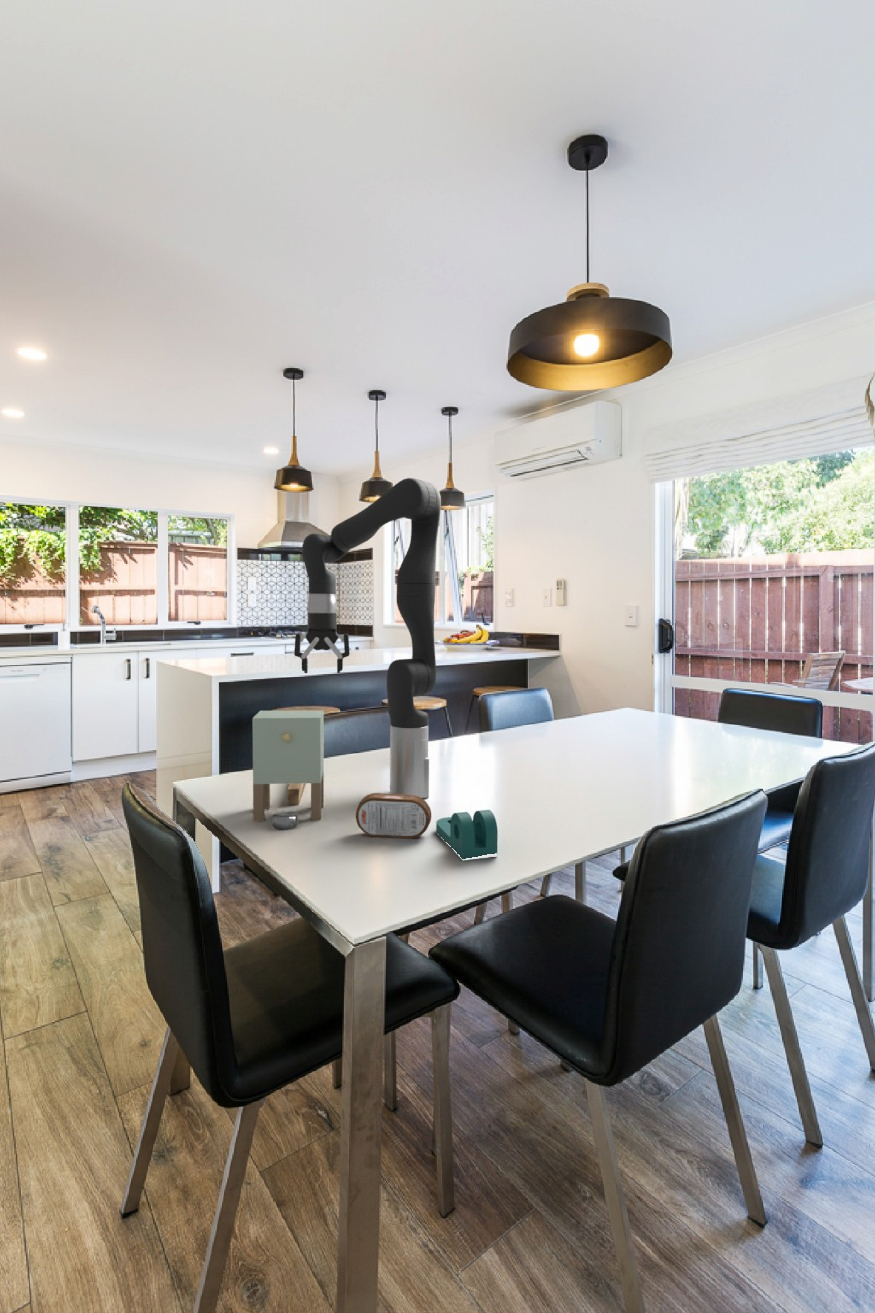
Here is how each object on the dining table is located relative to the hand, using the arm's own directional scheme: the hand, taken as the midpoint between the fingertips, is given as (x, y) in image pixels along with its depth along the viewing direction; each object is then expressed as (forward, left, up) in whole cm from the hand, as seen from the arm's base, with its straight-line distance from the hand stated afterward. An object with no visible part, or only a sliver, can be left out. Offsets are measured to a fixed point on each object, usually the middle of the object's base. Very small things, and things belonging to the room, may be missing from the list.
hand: (322, 672), depth 169 cm
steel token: (+5, +38, -28) cm, 48 cm away
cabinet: (+5, +30, -28) cm, 41 cm away
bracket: (-30, +50, -28) cm, 65 cm away
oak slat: (+5, +12, -28) cm, 31 cm away
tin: (-17, +46, -28) cm, 57 cm away
